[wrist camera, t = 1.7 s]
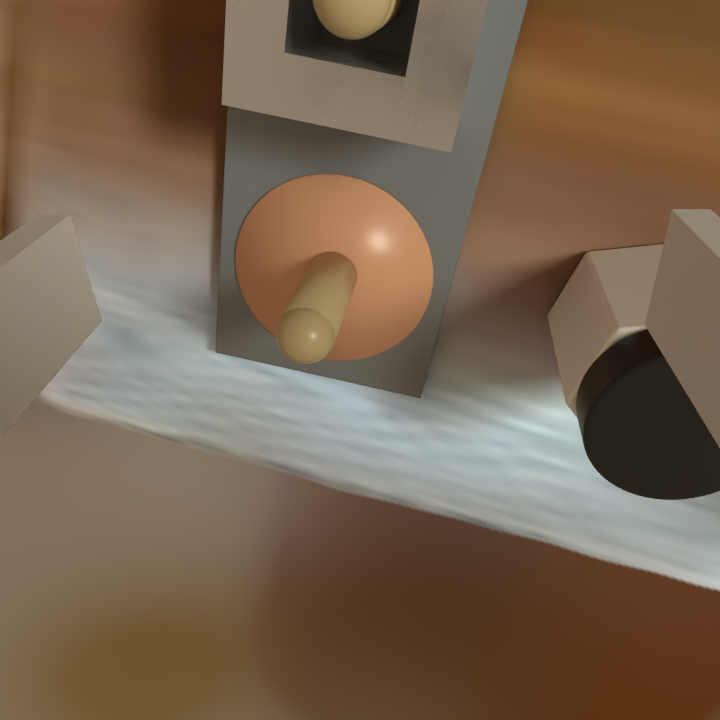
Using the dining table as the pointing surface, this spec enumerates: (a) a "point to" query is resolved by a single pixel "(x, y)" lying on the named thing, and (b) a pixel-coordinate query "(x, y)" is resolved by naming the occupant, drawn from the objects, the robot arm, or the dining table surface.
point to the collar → (352, 70)
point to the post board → (353, 219)
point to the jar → (628, 381)
